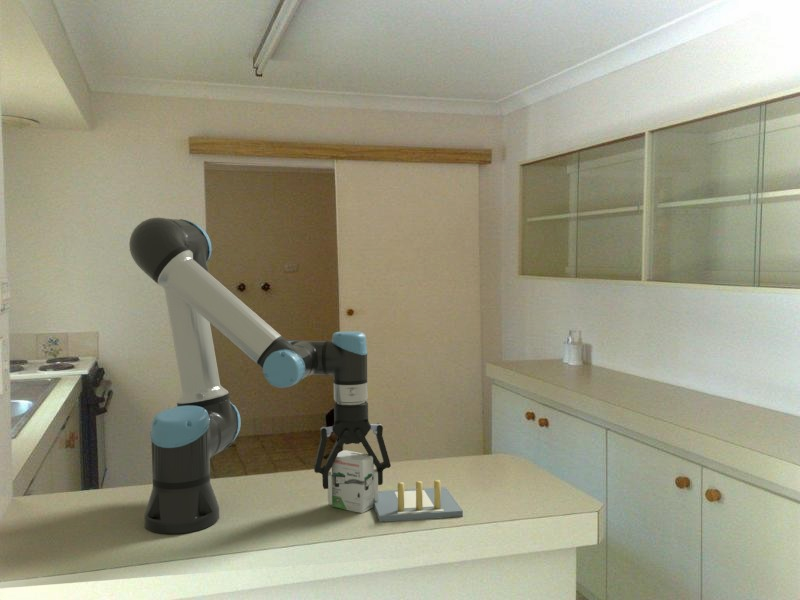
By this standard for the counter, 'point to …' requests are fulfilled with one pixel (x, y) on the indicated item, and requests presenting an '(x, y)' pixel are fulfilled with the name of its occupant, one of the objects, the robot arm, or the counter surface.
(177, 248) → the robot arm
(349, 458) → the ink box
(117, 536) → the counter surface
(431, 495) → the board
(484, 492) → the counter surface
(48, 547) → the counter surface
